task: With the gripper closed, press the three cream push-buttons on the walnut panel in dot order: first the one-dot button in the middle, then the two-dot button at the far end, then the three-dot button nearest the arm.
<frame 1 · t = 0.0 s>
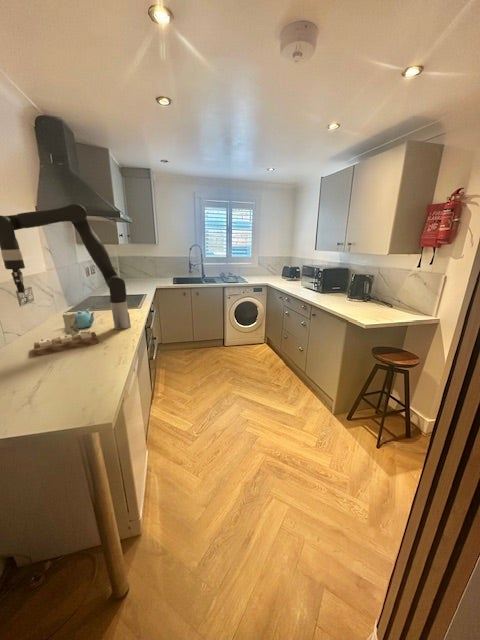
hand: (21, 291, 130), 29 cm above the countertop, fingers open, 8 cm apart
teapot: (83, 326, 168), on the countertop
button one: (66, 339, 136), point 4 cm above the countertop, slide at 0.0 cm
button panel: (67, 345, 137), on the countertop
button two: (45, 343, 130), point 3 cm above the countertop, slide at 0.0 cm
button three: (85, 335, 141), point 4 cm above the countertop, slide at 0.0 cm
box: (73, 334, 153), on the countertop
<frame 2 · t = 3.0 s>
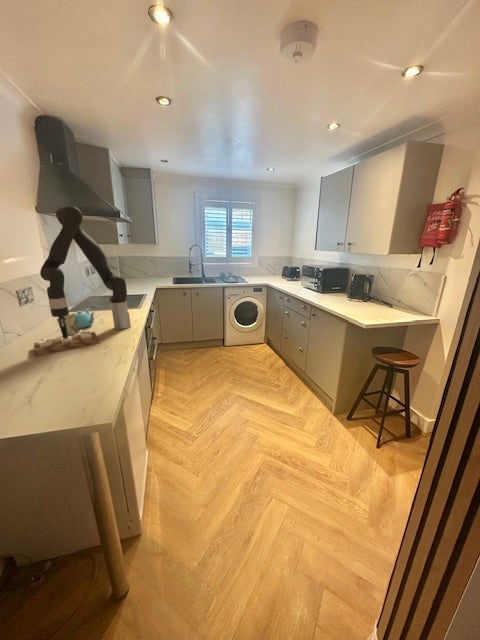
hand: (65, 337, 135), 5 cm above the countertop, fingers closed
button one: (66, 340, 136), point 3 cm above the countertop, slide at 0.9 cm, touching gripper
everything else where it was.
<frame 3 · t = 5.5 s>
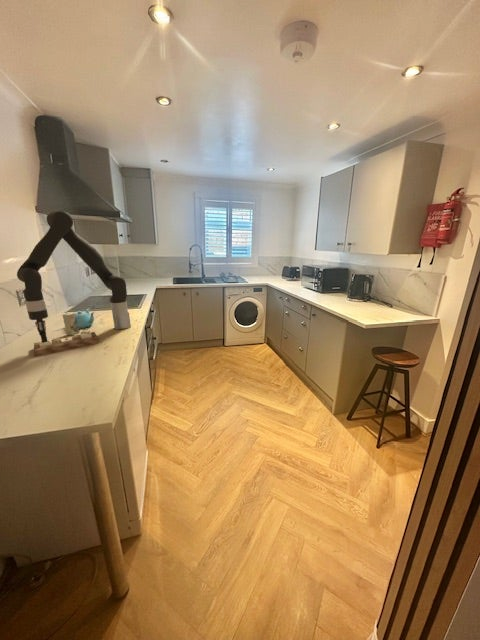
hand: (44, 341, 130), 5 cm above the countertop, fingers closed
button one: (67, 342, 136), point 2 cm above the countertop, slide at 1.5 cm
button two: (46, 344, 131), point 3 cm above the countertop, slide at 0.7 cm, touching gripper
everything else where it was.
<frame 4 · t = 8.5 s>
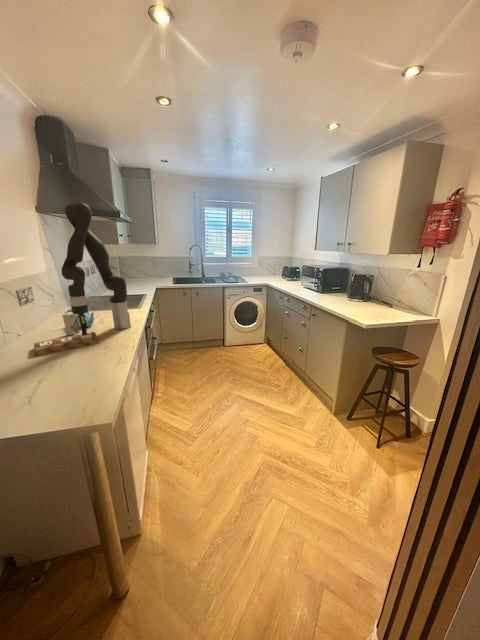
hand: (84, 334, 140), 4 cm above the countertop, fingers closed
button two: (46, 346, 131), point 2 cm above the countertop, slide at 1.4 cm
button three: (86, 337, 141), point 3 cm above the countertop, slide at 1.0 cm, touching gripper
everything else where it was.
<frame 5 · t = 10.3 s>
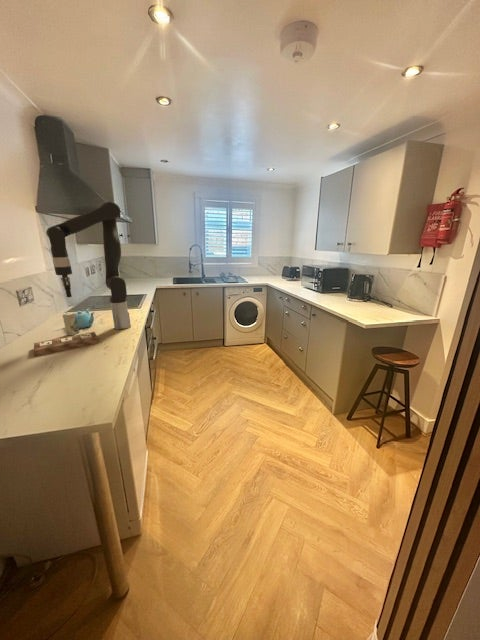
hand: (69, 296, 142), 24 cm above the countertop, fingers closed
button three: (86, 338, 141), point 2 cm above the countertop, slide at 1.5 cm
everything else where it was.
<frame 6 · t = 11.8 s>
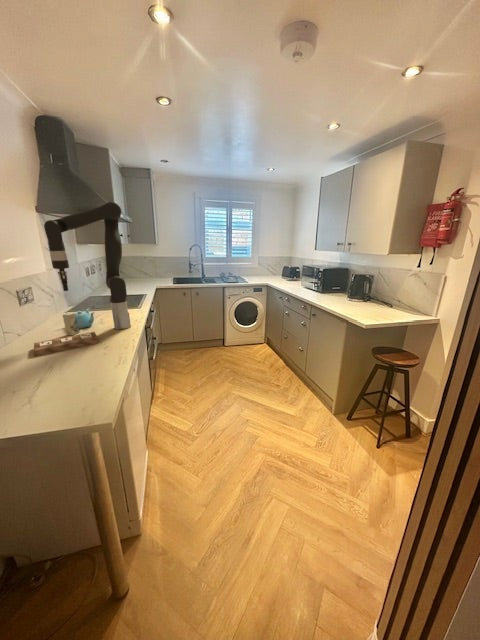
hand: (66, 290, 143), 27 cm above the countertop, fingers closed
nothing on the countertop moved.
at the end: button one slide at 1.5 cm; button two slide at 1.4 cm; button three slide at 1.5 cm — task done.
